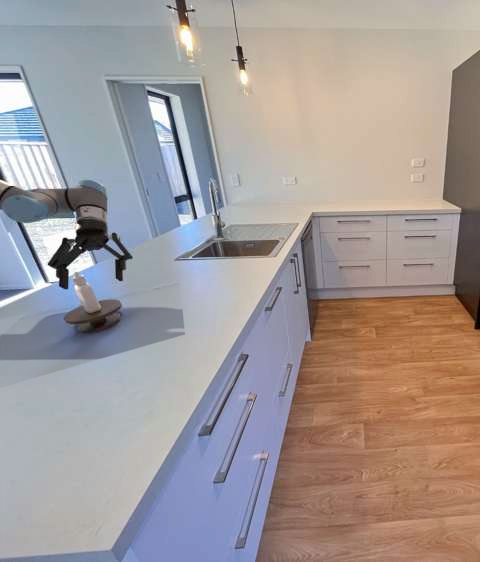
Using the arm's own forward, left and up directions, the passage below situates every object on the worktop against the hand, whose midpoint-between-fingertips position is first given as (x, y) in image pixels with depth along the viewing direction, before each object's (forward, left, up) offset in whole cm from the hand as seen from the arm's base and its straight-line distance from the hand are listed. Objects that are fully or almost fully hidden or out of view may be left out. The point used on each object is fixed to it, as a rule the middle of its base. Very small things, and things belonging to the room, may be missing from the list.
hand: (92, 283), depth 91 cm
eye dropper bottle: (-1, -6, -6) cm, 8 cm away
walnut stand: (-1, -6, -11) cm, 12 cm away
